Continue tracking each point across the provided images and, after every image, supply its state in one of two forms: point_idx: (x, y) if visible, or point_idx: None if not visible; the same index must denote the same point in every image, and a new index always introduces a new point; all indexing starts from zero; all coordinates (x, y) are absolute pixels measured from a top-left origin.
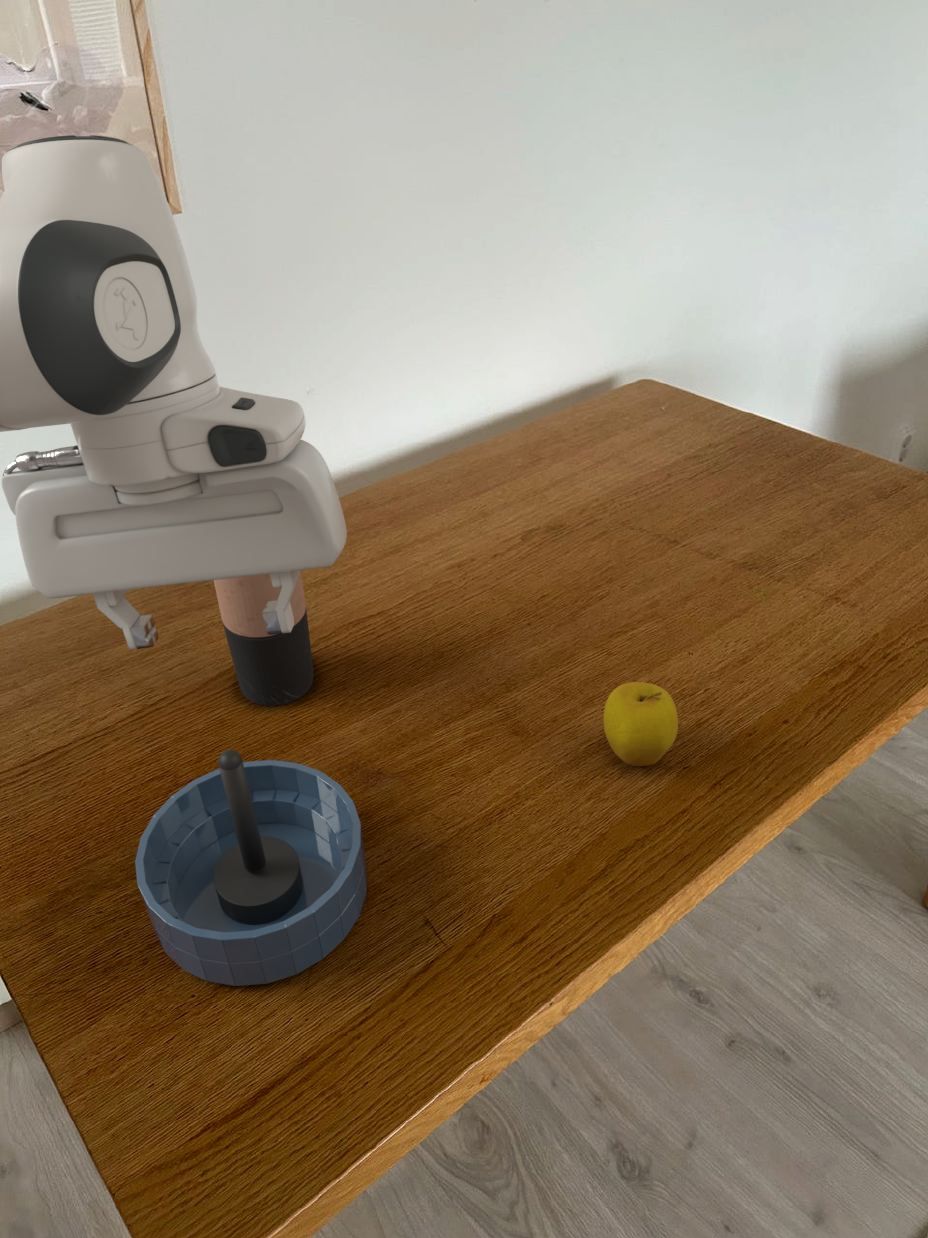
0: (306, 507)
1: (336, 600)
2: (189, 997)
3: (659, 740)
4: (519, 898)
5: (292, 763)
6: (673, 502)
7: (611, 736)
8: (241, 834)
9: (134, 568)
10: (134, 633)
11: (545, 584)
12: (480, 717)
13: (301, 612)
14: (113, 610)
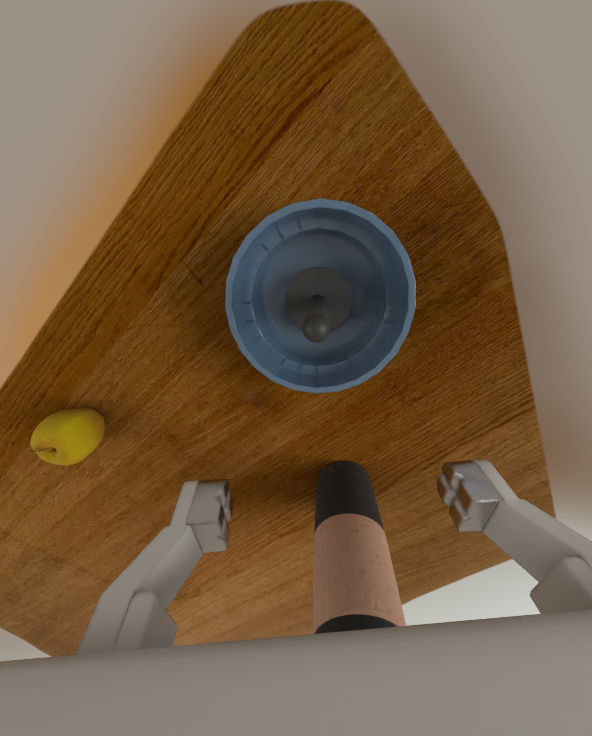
0: None
1: None
2: None
3: (47, 417)
4: (143, 303)
5: (298, 389)
6: None
7: (87, 424)
8: (319, 300)
9: (587, 728)
10: (488, 487)
11: None
12: (198, 449)
13: (315, 536)
14: (562, 543)
